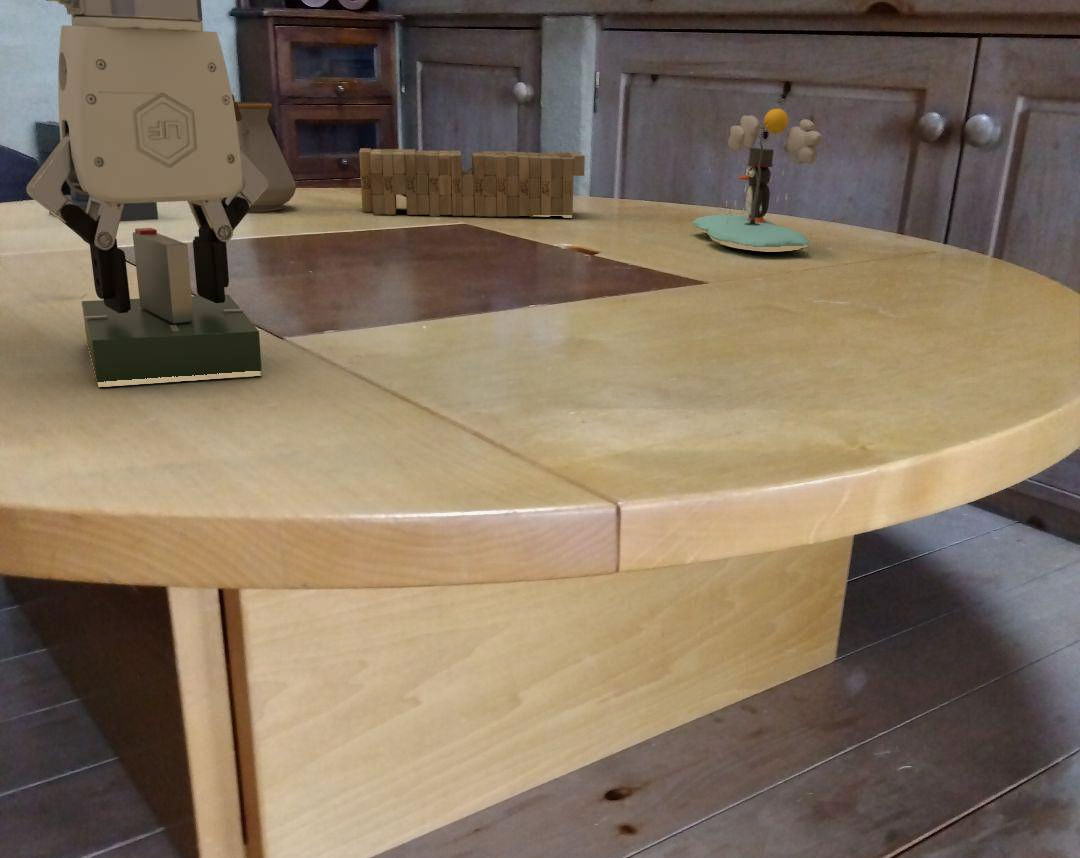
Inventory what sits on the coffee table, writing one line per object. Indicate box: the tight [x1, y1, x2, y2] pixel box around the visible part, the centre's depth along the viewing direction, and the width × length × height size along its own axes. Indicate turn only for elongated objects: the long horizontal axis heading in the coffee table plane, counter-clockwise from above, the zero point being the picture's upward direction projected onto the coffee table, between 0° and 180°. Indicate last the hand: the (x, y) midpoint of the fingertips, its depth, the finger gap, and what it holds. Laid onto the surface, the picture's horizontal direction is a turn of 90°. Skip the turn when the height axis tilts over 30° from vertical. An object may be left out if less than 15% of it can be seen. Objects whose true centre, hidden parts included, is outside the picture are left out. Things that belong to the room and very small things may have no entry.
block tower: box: [358, 147, 586, 217], centre depth 149 cm, size 8×8×29 cm
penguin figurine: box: [691, 108, 823, 247], centre depth 130 cm, size 20×11×15 cm, turn 6°
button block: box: [48, 187, 159, 222], centre depth 134 cm, size 10×9×4 cm
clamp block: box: [81, 294, 263, 383], centre depth 75 cm, size 10×12×3 cm
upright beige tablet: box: [132, 227, 194, 324], centre depth 74 cm, size 6×1×5 cm, turn 38°
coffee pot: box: [220, 93, 297, 213], centre depth 140 cm, size 21×12×15 cm, turn 5°
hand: (165, 301), depth 74 cm, fingers open, 5 cm apart
